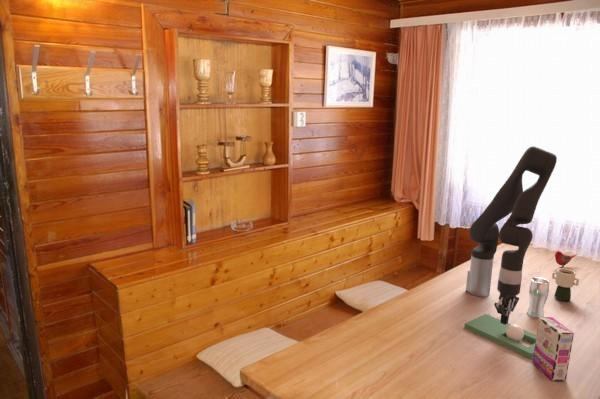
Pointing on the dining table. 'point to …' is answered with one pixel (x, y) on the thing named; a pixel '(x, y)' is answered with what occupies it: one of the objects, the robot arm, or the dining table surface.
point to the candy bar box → (553, 348)
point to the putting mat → (500, 334)
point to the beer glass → (538, 296)
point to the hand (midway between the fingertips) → (503, 323)
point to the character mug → (564, 283)
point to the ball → (514, 332)
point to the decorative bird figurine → (562, 258)
